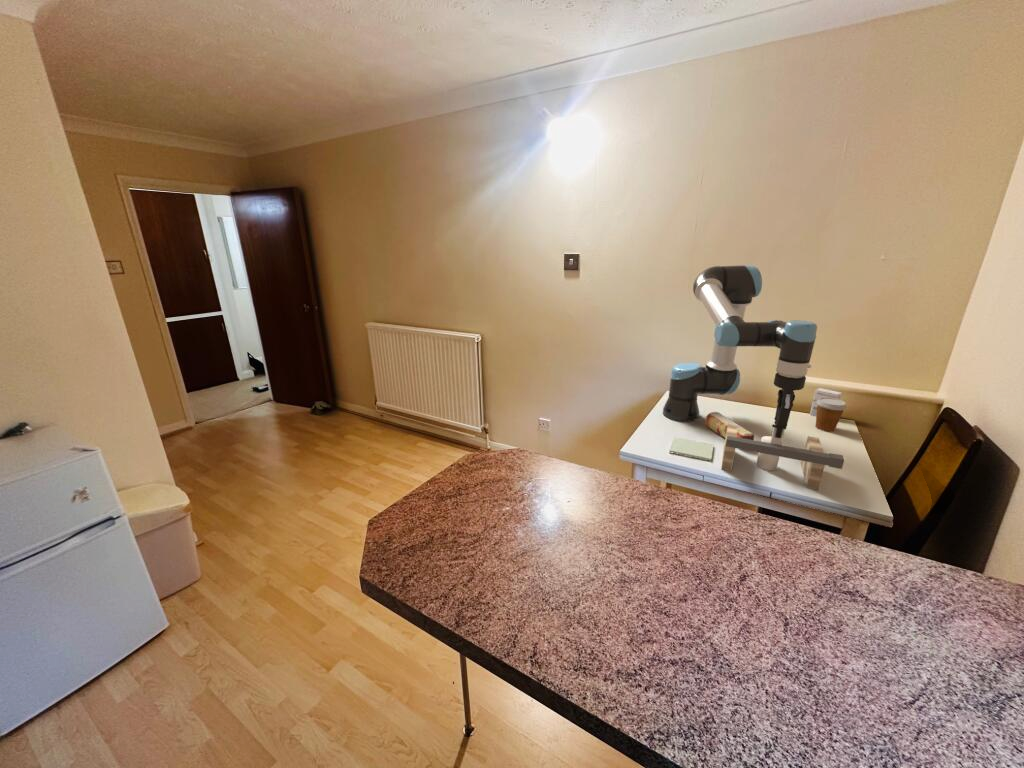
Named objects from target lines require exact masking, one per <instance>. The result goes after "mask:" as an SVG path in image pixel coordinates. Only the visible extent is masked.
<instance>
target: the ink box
mask: <svg viewBox="0 0 1024 768" xmlns="http://www.w3.org/2000/svg"><path fill="white" fill-rule="evenodd" d="M842 395H843V392H840V391H835V390H831V389H826V388H821V387H819V388H817V389H815V391H814V394H813V399H812V403H811V408H810V412H809V415H810V416H813V417H816V416H817V401H818V399H819V398H822V397H828V398H835V399H839V400H842Z"/></svg>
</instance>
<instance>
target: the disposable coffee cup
mask: <svg viewBox="0 0 1024 768" xmlns="http://www.w3.org/2000/svg"><path fill="white" fill-rule="evenodd" d="M846 409H847V404H846V402H845V401H843V400H842V399H840V400H839V399H835V398H828V397H822V398H819V399H818V401H817V416H815V428H816V427H817V428H816V429H818V430H820V429H821V430H820V431H823V430H824V432H829V431H832V432H834V430H836V428H837V426H838V424H839V422H840V419H841V417H842V415H843V413H844V410H846Z"/></svg>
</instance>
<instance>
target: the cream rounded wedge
mask: <svg viewBox="0 0 1024 768" xmlns="http://www.w3.org/2000/svg"><path fill="white" fill-rule="evenodd" d="M771 438H772V435H764V436H762V437H761V439H760V441H761V442H767V443H771ZM783 442H784V441H782V444H781V445H783ZM757 453H758V455H757V460H756V464H757V465H756V466H757V467H758V468H759V467H760V468H759V469H762V470H765V471H768V472H773V471H777V469H778V464H779V461H780V460H779V459H780V456H775V455H769V454H764V453H759V452H757Z"/></svg>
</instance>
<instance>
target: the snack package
mask: <svg viewBox="0 0 1024 768" xmlns="http://www.w3.org/2000/svg"><path fill="white" fill-rule="evenodd" d="M705 418H706V419H705V427H708V428H709V429H710V430H712V431H713V432H715V433H716V434H718V435H720V436H721V438H724V439H725V438H726V432H727V426H728V423H732V424H737V423H736V422H734V421H732V420H731V419H730V418H728V417H727V416H725V415H723V414H722V413H720V412H718V411H713V412H709V413H708V414H707V415H706V417H705ZM737 437H739V438H744V439H750V440H755V435H754V434H753V432H750V431H748V430H747V429H745V428H744V427H742V426H741V425H739V424H737Z"/></svg>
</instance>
